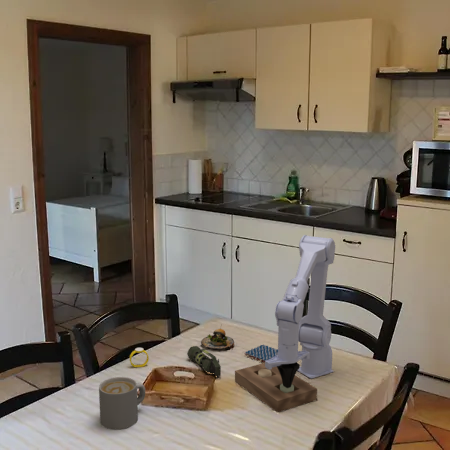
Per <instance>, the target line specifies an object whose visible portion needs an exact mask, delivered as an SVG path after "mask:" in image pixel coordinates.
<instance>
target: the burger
mask: <svg viewBox="0 0 450 450" xmlns="http://www.w3.org/2000/svg"><path fill="white" fill-rule="evenodd" d="M220 326H222V324H221V325H220ZM200 343H201V345H203V346H205V347H207V348H209V349H214V350H220V349H221V350H223V349H227V348H229V349H228V350H232V349H234V346H235V341H234V339H233V338H232V337H230V336H226V331H225V330H224V329H223V328H217V329H215V330H213V332H212V335H211V334H210V333H208V334H207V336H205V337H204V338H202V339H201V341H200Z"/></svg>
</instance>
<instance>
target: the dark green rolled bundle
mask: <svg viewBox="0 0 450 450" xmlns="http://www.w3.org/2000/svg"><path fill="white" fill-rule="evenodd" d="M186 355H187V357H188V359H190V360H191V362H196V363H197V364H198V365H199V366H200V367H202V369H203V370H204V372H205V371H207V372H210V373H214V374H213V375H216V376H217V378H216V379H218V378H220V377H221V376H222V375H221V367H222V366H221V364H220V360H219V358H218V359H217V357H216V356H215V355H214V354H213V353H211V352H209V351H208V350H207V349H205V348H201V347H199V345H193V346H190V347H189V348H188V351H187V354H186Z"/></svg>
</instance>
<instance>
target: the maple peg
mask: <svg viewBox="0 0 450 450" xmlns="http://www.w3.org/2000/svg"><path fill="white" fill-rule="evenodd" d="M271 373H272V372H271V371H270V370H268V369H261V370H259V371H258V375H259V376H260V377H262V378H266V377H269V376H271Z"/></svg>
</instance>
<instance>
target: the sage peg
mask: <svg viewBox="0 0 450 450" xmlns="http://www.w3.org/2000/svg"><path fill="white" fill-rule="evenodd" d="M280 390H281V391H282V392H284V393H288V392H292V391H294V385H291V387H290V388H286V387H284V386H283V384H281V385H280Z"/></svg>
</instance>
